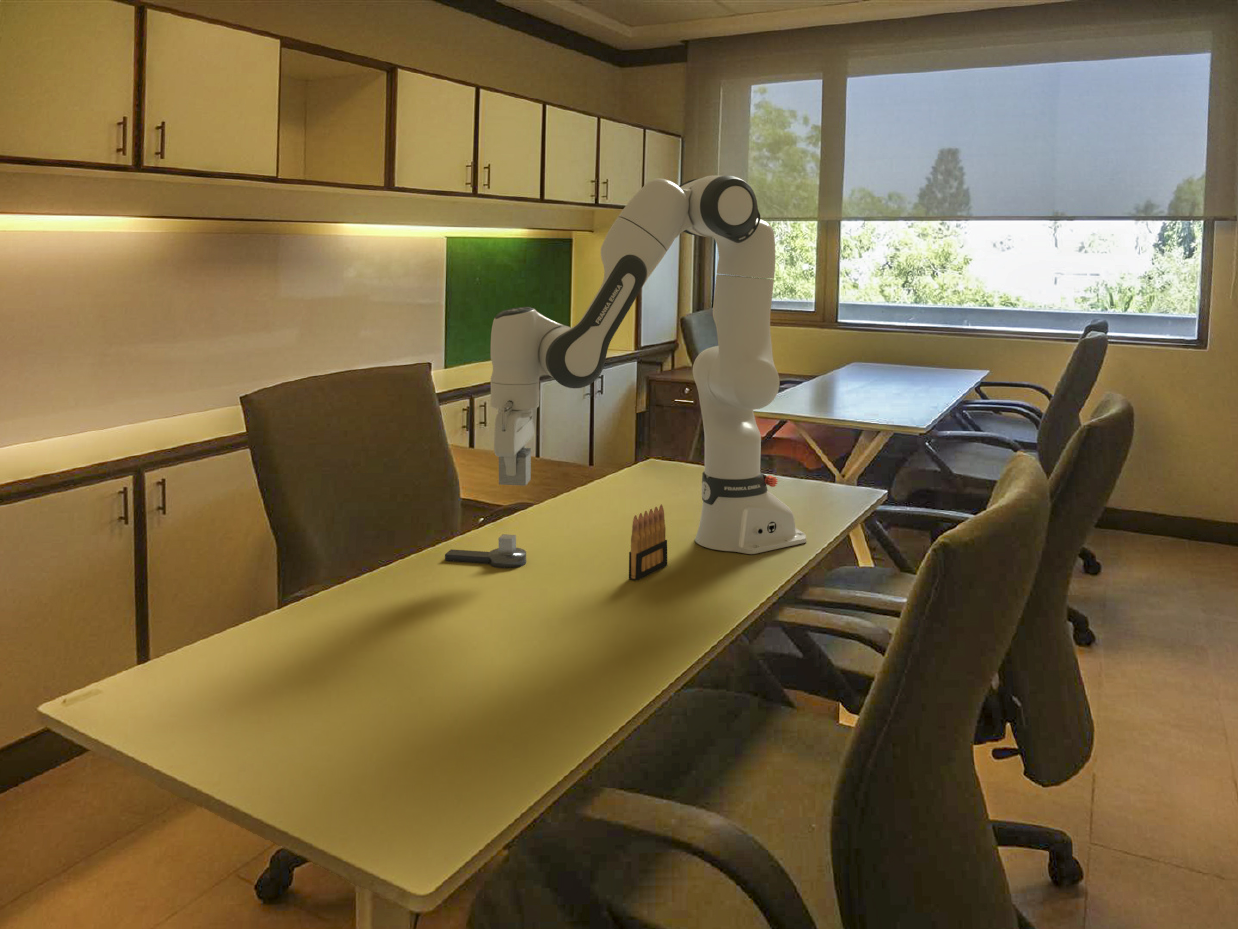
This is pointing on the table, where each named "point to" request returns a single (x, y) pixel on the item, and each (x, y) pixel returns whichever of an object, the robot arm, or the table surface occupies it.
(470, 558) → the ratchet
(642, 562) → the ammunition clip
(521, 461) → the socket
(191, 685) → the table surface
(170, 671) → the table surface
